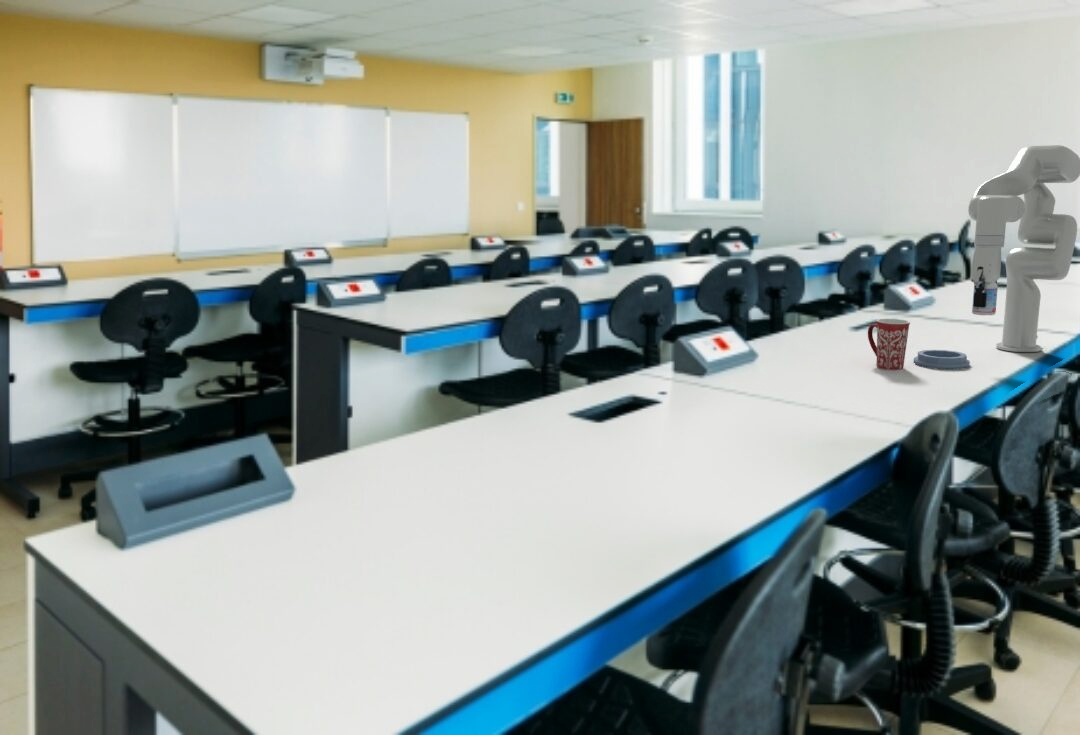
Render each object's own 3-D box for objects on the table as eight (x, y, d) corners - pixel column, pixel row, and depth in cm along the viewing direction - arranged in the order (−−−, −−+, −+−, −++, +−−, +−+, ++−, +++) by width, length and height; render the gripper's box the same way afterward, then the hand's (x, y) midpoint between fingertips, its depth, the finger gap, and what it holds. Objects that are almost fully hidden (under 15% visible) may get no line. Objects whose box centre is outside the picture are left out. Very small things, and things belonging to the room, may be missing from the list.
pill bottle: (998, 316, 263) (1001, 275, 261) (975, 315, 264) (978, 275, 262) (991, 313, 269) (995, 273, 267) (969, 312, 270) (972, 273, 268)
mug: (914, 368, 268) (917, 321, 265) (891, 372, 264) (894, 324, 261) (879, 361, 279) (882, 316, 276) (857, 364, 274) (859, 318, 272)
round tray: (927, 357, 284) (928, 347, 283) (978, 363, 273) (979, 353, 272) (904, 364, 274) (904, 354, 273) (956, 371, 263) (956, 361, 262)
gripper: (987, 239, 271) (981, 301, 275) (963, 242, 259) (958, 307, 263) (1014, 240, 266) (1008, 303, 270) (991, 243, 254) (986, 310, 258)
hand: (984, 305), depth 266 cm, fingers closed on pill bottle, 6 cm apart
